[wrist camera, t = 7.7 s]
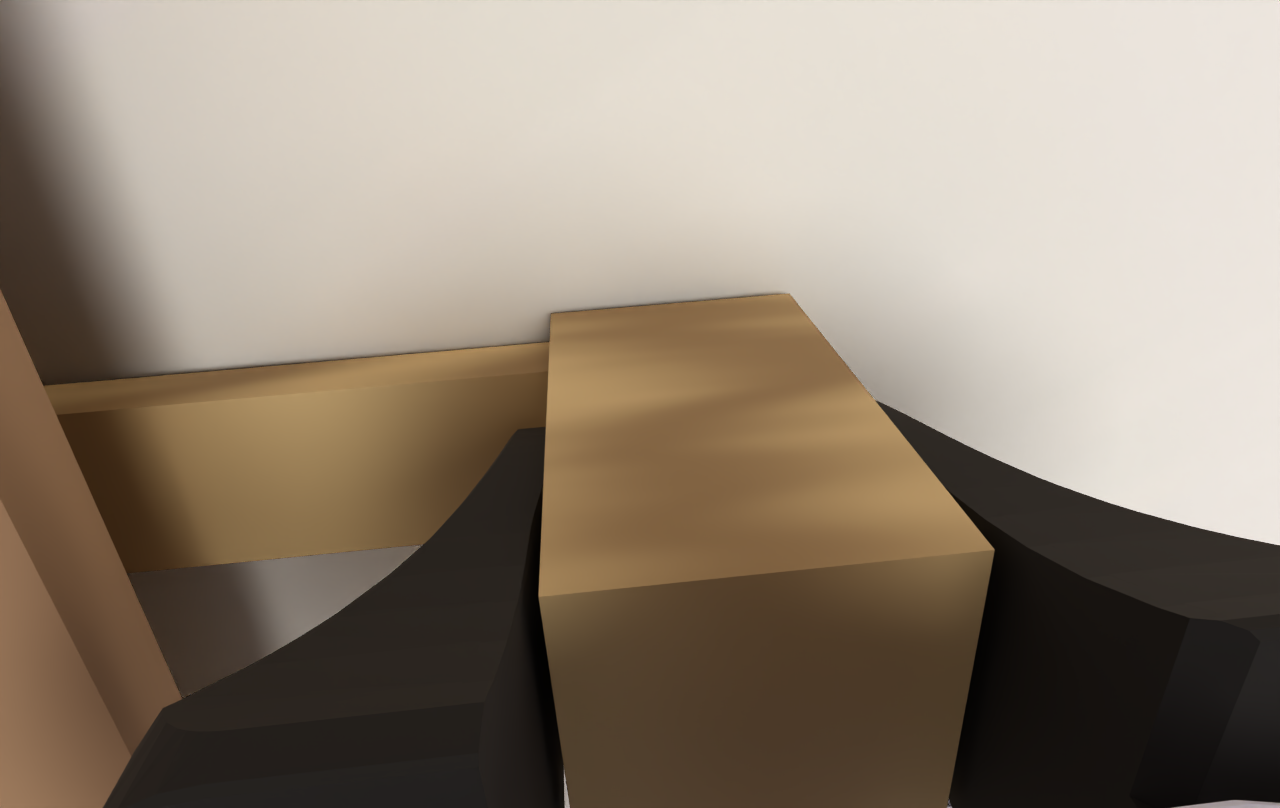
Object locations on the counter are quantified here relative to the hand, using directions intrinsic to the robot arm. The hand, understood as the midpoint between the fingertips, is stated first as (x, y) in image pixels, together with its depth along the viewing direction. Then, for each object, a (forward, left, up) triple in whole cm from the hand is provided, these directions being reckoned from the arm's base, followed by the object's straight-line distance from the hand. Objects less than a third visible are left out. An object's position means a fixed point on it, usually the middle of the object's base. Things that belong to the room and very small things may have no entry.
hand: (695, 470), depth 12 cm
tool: (+6, 0, -2) cm, 7 cm away
